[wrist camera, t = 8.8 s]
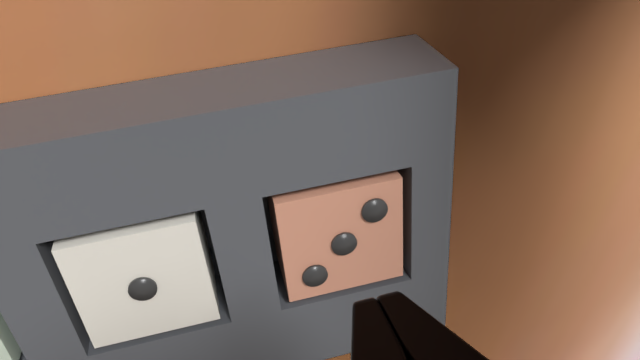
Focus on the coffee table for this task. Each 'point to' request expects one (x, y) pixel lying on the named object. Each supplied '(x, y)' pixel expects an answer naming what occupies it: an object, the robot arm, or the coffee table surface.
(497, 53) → the coffee table surface
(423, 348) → the robot arm
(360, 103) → the keypad
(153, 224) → the key one dot
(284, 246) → the key three dots
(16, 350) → the key two dots
